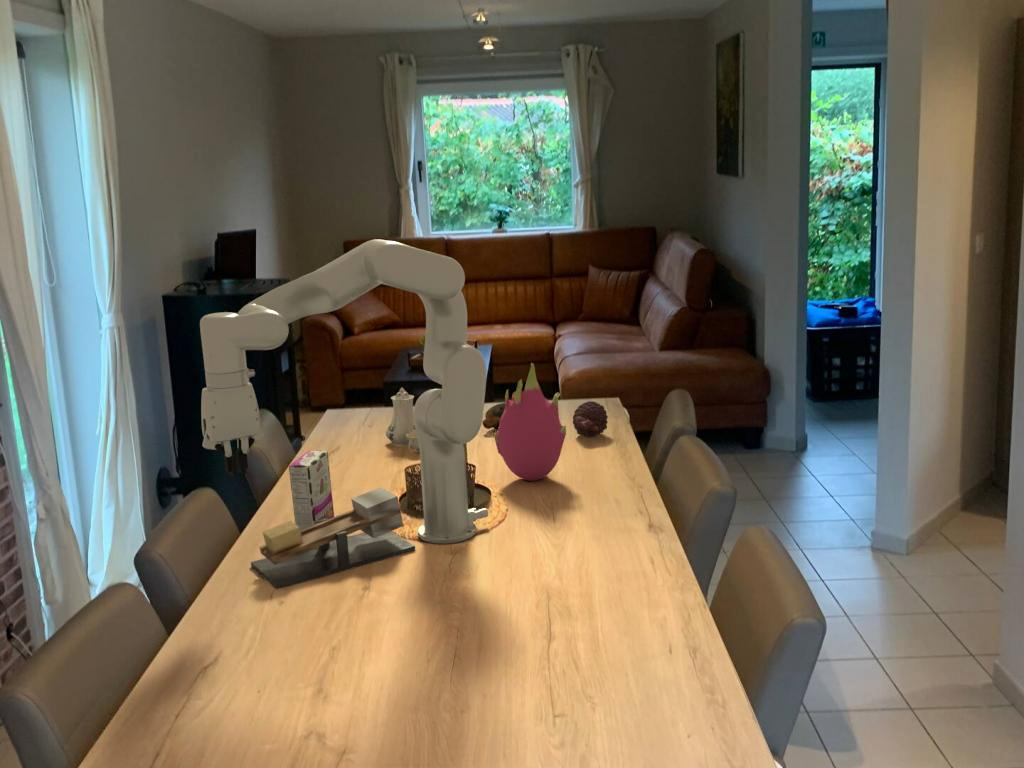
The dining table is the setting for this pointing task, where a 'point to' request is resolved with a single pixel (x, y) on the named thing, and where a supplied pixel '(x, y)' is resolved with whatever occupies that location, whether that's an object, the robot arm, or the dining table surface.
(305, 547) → the beam
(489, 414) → the decorative turtle
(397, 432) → the chinaware
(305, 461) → the candy bar box
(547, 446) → the pink dragon fruit
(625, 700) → the dining table surface
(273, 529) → the brass block
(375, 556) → the stand
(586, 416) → the pine cone
